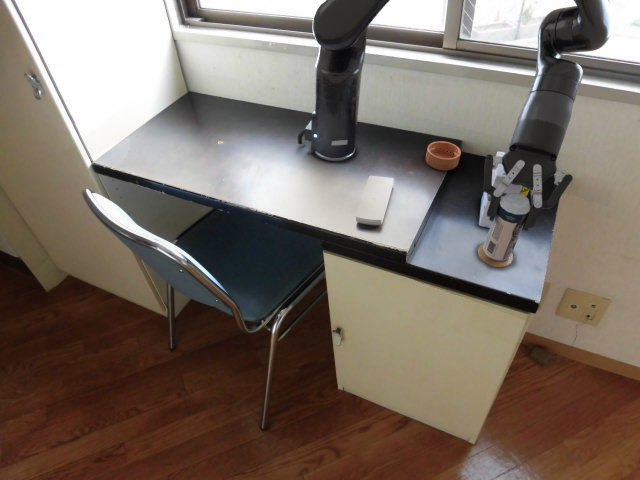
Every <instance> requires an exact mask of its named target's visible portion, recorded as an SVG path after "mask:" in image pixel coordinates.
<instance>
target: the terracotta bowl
mask: <svg viewBox="0 0 640 480" xmlns="http://www.w3.org/2000/svg"><path fill="white" fill-rule="evenodd" d="M426 148H427V149H426V153H425V158H424V159H425V163H426V164H427V165H428V166H430V167H431V168H432V169H435V170H438V171H451V170H454V169H455V168H457V166H458V165H459V162H460V159H461V155H462V150H461V148H460V147H459V146H457V145H456V144H454V143H452V142H449V141H443V140H441V141H433V142H430V143H429V144H428V145H427V147H426ZM447 151H448V152H447ZM450 152H451V153H450ZM453 154H454V155H453Z"/></svg>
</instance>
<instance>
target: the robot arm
mask: <svg viewBox="0 0 640 480" xmlns="http://www.w3.org/2000/svg"><path fill="white" fill-rule="evenodd" d="M390 1H391V0H321V2H320V3H319V5H318V6H317V8H316V10H315V12H314V15H313V19H312V33H313V36H314V39H315V41H316V42H317V44H318V45H319V51H318V56H317V60H316V63H315V83H314V84H315V85H314V86H315V87H314V88H315V89H314V91H315V92H314V110H313V112H312V113H311V117H310V118H311V120H310V121H309V123H308V124H307V125H306V126H305V128H304V129H303V130H301V131H300V132H299V134H298V136H297V144H298V145H302V144H303V136H304V141H308V142H310V153H311V154H315V155H316V157H318V158H319V159H322V160H324V161H328V162H343V161H347V160H349V159H352V158H353V157H354V155H355V154H356V141H357V128H358V116H359V106H360V95H361V83H362V73H363V67H364V63H365V57H366V49H367V39H368V31H369V30H368V29H369V26H370V25H371V23H372V22H373V21H374V19H375V18H376V17H377V15H379V13H380V12H381V11H382V10H383V9H384V8H385V6H386V5H387V4H388V3H389V2H390ZM573 2H574V3H575V5H572V6H566V7H559V8H556V9H553V10H551V11H550V12H548V14H546V15H545V17H544V18H543V19H542V21H541V22H540V25H539V27H538V31H537V53H536V54H537V55H536V66H535V68H536V69H535V74H534V77H533V81H532V84H531V86H530V89H529V93H528V94H527V97H526V99H525V102H524V104H523V106H522V108H521V110H520V112H519V113H520V114H519V116H518V118H517V122H516V125H515V128H514V131H513V134H512V136H511V140H510V143H509V145H508V149H507V151H506V152H505V154H504V155H503V157H500V156H496V155H495V156H494V155H492V154H490V153H489V154H487V155H486V156H485V158H484V167H483V168H484V169H483V170H484V171H483V187H482V191H483V193H484V192H486V193H488V194H489V195H490V196H491V202H490V205H489V208H488V211H487V216H488V217H490V218H489V221H492V222H493V221H494V218H495V215H496V212H497V209H498V206H499V203H500V200H501V199H500V197H501V195H502V194H503V193H504V192H505V190H506V189H507V188H508V187H509V186H510V184H514V185H522V186H524V187H526V188H529V189H530V198H531V199H530V201H531V205H530V211H529V213H528V216H527V218H526V220H525V223H524V226H523V228H522V230H521V231H524V232H528V231H529V229H530V230H531V229H533V228H534V227H535V225H536V222H537V219H538V216H539V213H540V211H541V210H547V211H549V210H552V209H553V208H554V207H555V206H556V205H557V203H558V201H559V200H560V199H561V197H562V195H563V194H564V193H565V191H566V190H567V188H568V187H569V185H570V184H571V182H572V181H573V175H572V174H570V173H568V174H565V173H563V172H562V171H559V170H558V166H557V160H558V157H559V154H560V151H561V148H562V145H563V142H564V139H565V136H566V134H567V130H568V127H569V126H570V125H569V124H570V121H571V117H572V114H573V108H574V104H575V103H576V102H575V101H576V99H577V96H578V93H579V90H580V87H581V84H582V80H583V77H584V76H583V75H584V71H583V68H582V66H581V65H580V64H578V63H577V62H575V61H572V60H569V59H565V58H561V57H562V56H563V54H573V53H586V52H587V53H588V52H594V51H597V50H600V49H601V48H602V47H604V46H605V45H606V43H607V42H608V41H609V39H610V37H611V35H612V32H613V26H614V17H613V12H612V9H611V6H610V3H609V1H608V0H573ZM500 163H502V165H503V168H504V171H505V173H506V177H505V178H504V179H503V181H502V182H501V184H500V185H499V186H498V187H497V189H496V188H495V187H493V186H492V172H493V170H495V169H496V168H497V166H498V164H500ZM552 177H553V178H554V181H553V185H554V186H555V188H554V190H553V191H552V192H551V194H550V195H549V197H548V199H547V200H543V184H544V183H545V182H546V181H548V180H549V179H551V178H552Z"/></svg>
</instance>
